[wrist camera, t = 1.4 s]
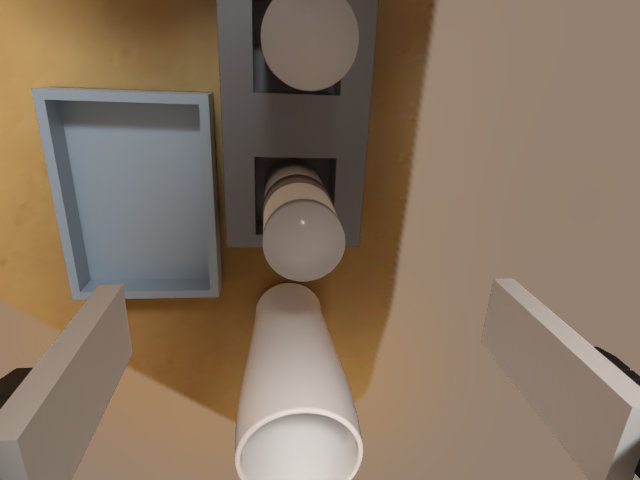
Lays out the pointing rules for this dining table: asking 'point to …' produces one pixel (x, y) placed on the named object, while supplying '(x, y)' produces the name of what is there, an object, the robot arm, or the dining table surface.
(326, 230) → the cylinder
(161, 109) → the parts tray
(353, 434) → the drinking glass
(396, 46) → the dining table surface
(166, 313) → the dining table surface
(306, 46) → the fuse
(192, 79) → the dining table surface
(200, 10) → the dining table surface
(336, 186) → the fuse block
